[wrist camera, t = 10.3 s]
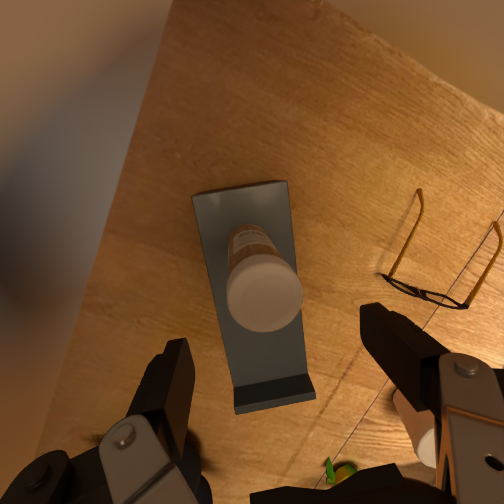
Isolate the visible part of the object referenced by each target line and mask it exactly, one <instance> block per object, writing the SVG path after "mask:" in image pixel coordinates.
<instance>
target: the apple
mask: <svg viewBox="0 0 504 504" xmlns="http://www.w3.org/2000/svg"><path fill="white" fill-rule="evenodd" d="M356 472H357V471H355V470H354V469H353V468H352V467H351V466H349V465H348V464H346V465H344V466H342V467H340V468H338V470H337V471H336V472H334V468H333V466H332V463H331V461H330V458H329V457H328V463H327V468H326V473H327V477H329V478H326V483H327V484H333V486H335V485H336V484H338V483H340V482H341V481H343V480H345V479H346V478H348V477H349V476H351V475H353V474H354V473H356Z"/></svg>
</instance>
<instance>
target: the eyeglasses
mask: <svg viewBox="0 0 504 504" xmlns="http://www.w3.org/2000/svg"><path fill="white" fill-rule="evenodd" d="M417 193H418V196H419V199H420V202H421V210H420V214H419V217H418V220H417V222H416V224H415V226H414V227H413V229H412V231H411V233H410V235H409V237H408V239H407V241H406V243H405V245H404V247H403V249H402V250H401V252H400V254H399V256H398V258H397V260H396V262H395V263H394V265H393V267H392V269H391V271H390V273H389V274H388V276H387V275H385V274H383V275H382V277H383V278H384V279H385V280H386V281H387V282H388V283H390V284H391V285H392V286H394V287H395V288H396V289H398V290H400V291H402V292H404V293H406V294H408V295H411V296H413V297H417V298H421V299H423V300H425V301H430V302H433V303H435V304H438V305H440V306H443V307H447V308H451V309H458V310H462V309H468V308H469V306H470V304H471V302H472V301H473V299H474V297H475V296H476V294H477V292H478V291H479V289H480V287H481V285H482V283H483V282H484V280H485V278H486V276H487V274H488V273H489V271H490V269H491V267H492V265H493V264H494V262H495V260H496V258H497V256H498V255H499V253H500V251H501V248H502V245H503V237H502V233H501V230H500V226H499V224H498V222H497V221H494V222H493V227H494V229H495V231H496V232H497V234H498V237H499V246H498V249H497V251H496V253H495V254H494V256H493V258H492V259H491V261H490V262H489V264H488V266H487V267H486V269H485V271H484V272H483V274H482V276H481V277H480V279H479V280H478V282H477V284H476V285H475V287H474V289H473V290H472V291H471V292H470V294H469V296H468V297H467V299H466V300H465V302H464V303H463V304H460V303H458V302H456V301H454V300H453V299H451V298H450V297H448V296H445V295H443V294H438V293H434V292H430V291H426V290H420V293H419V291H418V289H417V288H415V287H412V286H408V285H405V284H404V283H402V282H400V281H397V280H395V279H393V278H392V277H393V275H394V274H395V272H396V270H397V268H398V266H399V264H400V262H401V260H402V258H403V256H404V253H405V251H406V249H407V247H408V245H409V243H410V241H411V239H412V237H413V235H414V233H415V231H416V229H417V227H418V224H419V222H420V220H421V218H422V215H423V212H424V199H423V192H422V189H421V188H419V189H418V192H417ZM392 281H394V282H396V283H398V284H401V285H403V286H404V287H406V288H407V289H409V290H410V291H412V292H413V293H415V294H413V293H410V292H408V291H405V290H403V289H401V288H400V287H398V286H397V285H395V284H394V283H393V282H392ZM426 293H429V294H433V295H437V296H441V297H444V298H446V299H448V300H450V301H451V302H453V303H454V304H456V305H457V306H458V307H454V306H449V305H445V304H442V303H440V302H437V301H435V300H432V299H430V298H428V297H427V296H426Z"/></svg>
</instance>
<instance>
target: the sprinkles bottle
mask: <svg viewBox="0 0 504 504" xmlns="http://www.w3.org/2000/svg"><path fill="white" fill-rule="evenodd" d="M228 265H229V278H228V281H227V288H226V293H227V304H228V309H229V311H230V313H231V315H232V317H233V318H234V319H235V321H236V322H237V323H239V324H240V325H241V326H242V327H244V328H246V329H248V330H251V331H255V332H271V331H275V330H278V329H280V328H282V327H284V326H286V325H287V324H289V323H290V322H291V321H292V320H293V319H294V318H295V317H296V315H297V314H298V312H299V310H300V308H301V305H302V302H303V289H302V285H301V282H300V280H299V278H298V277H297V275H296V273H295V272H294V271H293V269H292V268H291V266H290V265H289V264H288V263H287V262H285V261H284V260H283V259H282V256H281V255H280V253H279V252H278V250H277V249H276V247H275V246H274V244H273V243H272V242H271V240H270V239H269V238H268V236H267V234H266V232H265V231H264V230H263V229H262V228H261V227H259V226H258V225H254V224H243V225H240V226H238V227H237V228H235V229H234V230H233V231H232V232H231V234H230V235H229V238H228Z"/></svg>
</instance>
